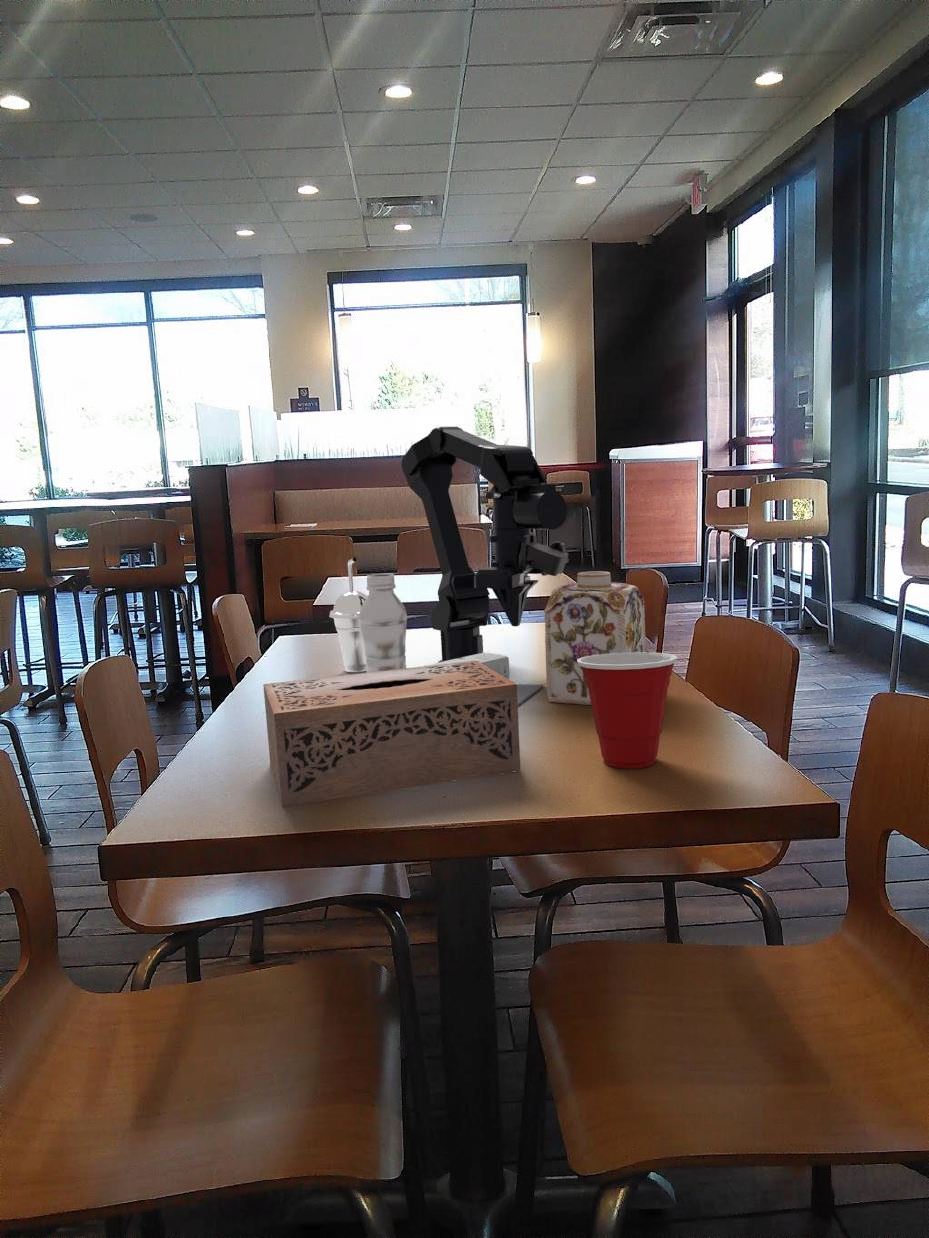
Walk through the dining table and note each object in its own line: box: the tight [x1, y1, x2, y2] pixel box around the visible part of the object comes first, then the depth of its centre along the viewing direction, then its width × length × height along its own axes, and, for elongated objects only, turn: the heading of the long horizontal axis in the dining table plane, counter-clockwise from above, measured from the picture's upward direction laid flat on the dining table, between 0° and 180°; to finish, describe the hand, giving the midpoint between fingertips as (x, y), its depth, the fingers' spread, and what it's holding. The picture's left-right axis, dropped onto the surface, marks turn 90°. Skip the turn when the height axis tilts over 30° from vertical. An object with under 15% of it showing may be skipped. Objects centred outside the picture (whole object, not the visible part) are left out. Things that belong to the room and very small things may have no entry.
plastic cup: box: [577, 651, 678, 770], centre depth 98 cm, size 11×11×12 cm
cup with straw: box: [328, 557, 368, 673], centre depth 153 cm, size 8×9×20 cm
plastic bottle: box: [359, 573, 408, 673], centre depth 118 cm, size 6×7×20 cm
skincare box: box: [425, 652, 510, 680], centre depth 136 cm, size 6×4×12 cm
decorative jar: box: [543, 570, 646, 706], centre depth 127 cm, size 12×12×18 cm
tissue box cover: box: [262, 661, 521, 808], centre depth 100 cm, size 26×14×10 cm, turn 107°
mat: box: [516, 683, 544, 707], centre depth 131 cm, size 12×14×1 cm
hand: (515, 626), depth 142 cm, fingers closed
